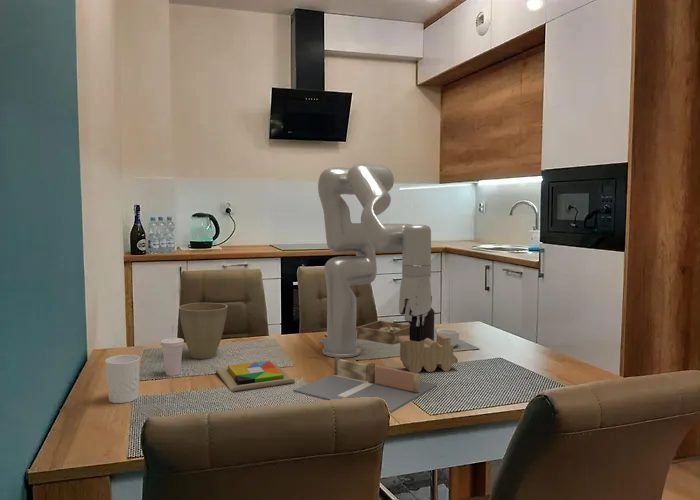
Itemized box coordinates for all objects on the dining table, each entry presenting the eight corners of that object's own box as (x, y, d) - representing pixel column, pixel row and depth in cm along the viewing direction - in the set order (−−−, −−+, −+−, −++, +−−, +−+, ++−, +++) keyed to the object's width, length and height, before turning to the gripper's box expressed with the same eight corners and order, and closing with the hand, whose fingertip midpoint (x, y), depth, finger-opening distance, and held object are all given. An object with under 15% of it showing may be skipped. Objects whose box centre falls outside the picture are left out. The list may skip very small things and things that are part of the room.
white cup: (112, 393, 140) (111, 354, 139) (144, 393, 141) (143, 354, 140) (101, 404, 132) (100, 363, 132) (135, 404, 133) (134, 363, 132)
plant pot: (204, 365, 166) (203, 312, 165) (169, 358, 174) (168, 307, 172) (237, 353, 179) (237, 305, 178) (203, 347, 186) (203, 300, 185)
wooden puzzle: (232, 395, 142) (232, 381, 142) (214, 375, 158) (214, 362, 158) (296, 385, 150) (296, 372, 150) (272, 367, 167) (272, 355, 166)
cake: (370, 340, 203) (369, 325, 203) (387, 336, 210) (386, 322, 210) (391, 342, 196) (391, 327, 196) (408, 338, 203) (408, 323, 203)
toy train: (457, 370, 163) (458, 337, 162) (402, 374, 159) (403, 340, 158) (449, 365, 169) (450, 333, 168) (396, 369, 164) (397, 335, 164)
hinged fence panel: (374, 383, 148) (374, 366, 148) (377, 381, 150) (377, 365, 149) (417, 392, 141) (417, 375, 141) (420, 391, 142) (420, 373, 142)
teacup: (463, 347, 190) (463, 332, 189) (444, 350, 187) (444, 334, 186) (446, 341, 199) (447, 326, 199) (428, 343, 196) (428, 328, 195)
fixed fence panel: (376, 382, 150) (376, 364, 150) (372, 384, 149) (372, 365, 148) (336, 373, 158) (336, 356, 157) (332, 375, 156) (333, 357, 156)
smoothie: (189, 372, 159) (188, 323, 158) (175, 378, 153) (174, 328, 152) (170, 369, 161) (169, 322, 160) (156, 376, 155) (155, 326, 154)
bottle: (427, 354, 181) (429, 293, 179) (437, 359, 175) (438, 296, 173) (408, 355, 179) (409, 294, 177) (417, 361, 172) (419, 297, 171)
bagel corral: (356, 338, 202) (356, 327, 202) (378, 330, 215) (379, 320, 215) (393, 344, 194) (393, 333, 193) (414, 336, 206) (414, 325, 206)
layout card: (293, 391, 143) (293, 389, 143) (350, 367, 165) (350, 366, 165) (386, 415, 127) (386, 413, 127) (436, 385, 149) (436, 384, 149)
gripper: (417, 268, 155) (416, 334, 156) (389, 273, 142) (389, 343, 143) (441, 270, 150) (441, 337, 151) (415, 274, 138) (415, 347, 139)
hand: (416, 340), depth 147 cm, fingers closed
